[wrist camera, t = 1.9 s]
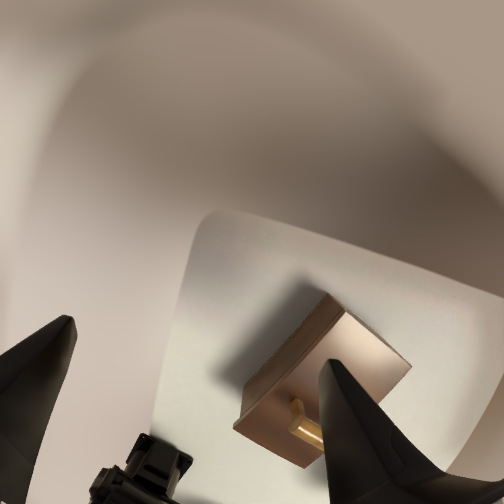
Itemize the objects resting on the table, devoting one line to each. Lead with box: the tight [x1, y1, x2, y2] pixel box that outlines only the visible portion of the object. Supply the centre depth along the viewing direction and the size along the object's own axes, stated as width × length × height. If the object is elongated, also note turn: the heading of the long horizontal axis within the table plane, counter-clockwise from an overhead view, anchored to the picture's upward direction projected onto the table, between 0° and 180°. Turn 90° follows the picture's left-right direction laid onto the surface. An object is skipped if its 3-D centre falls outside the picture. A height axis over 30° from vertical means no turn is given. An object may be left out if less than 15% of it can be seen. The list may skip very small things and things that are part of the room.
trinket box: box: [240, 293, 404, 417], centre depth 24 cm, size 12×8×5 cm, turn 141°
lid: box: [233, 309, 412, 469], centre depth 19 cm, size 12×8×5 cm, turn 141°
